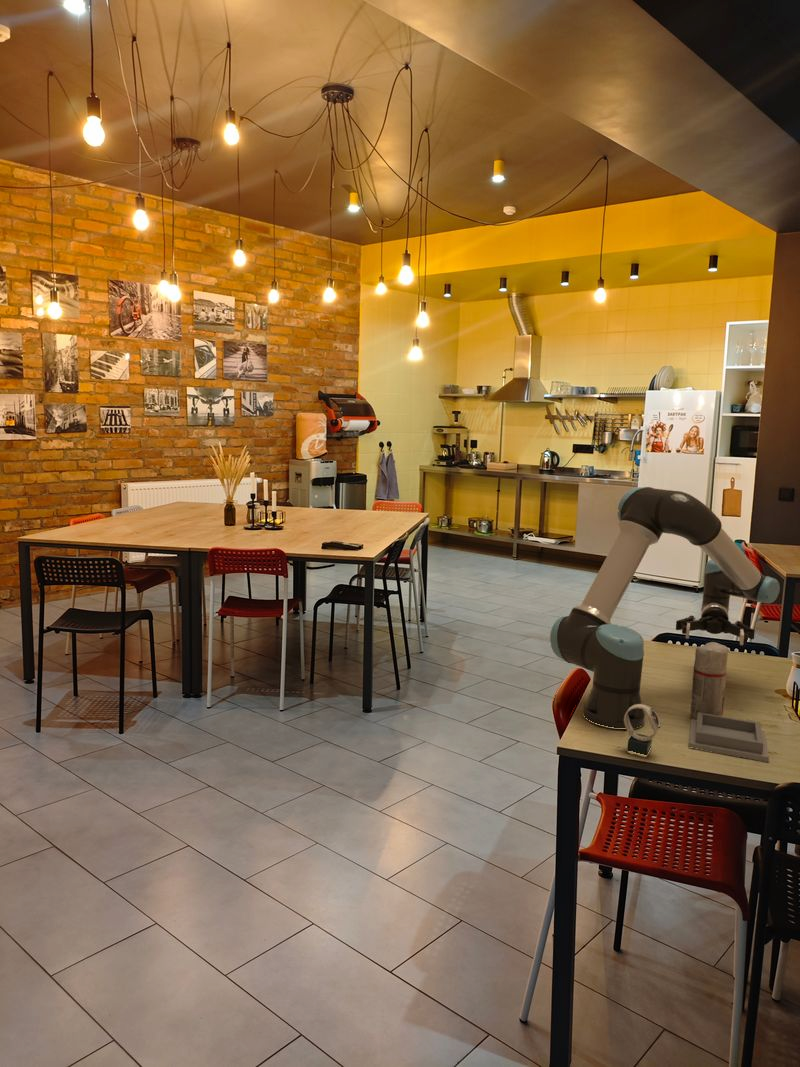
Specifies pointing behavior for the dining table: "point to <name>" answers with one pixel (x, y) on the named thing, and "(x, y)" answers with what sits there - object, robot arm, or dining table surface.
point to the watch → (640, 741)
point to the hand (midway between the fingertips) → (714, 636)
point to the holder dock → (729, 736)
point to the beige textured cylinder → (709, 679)
